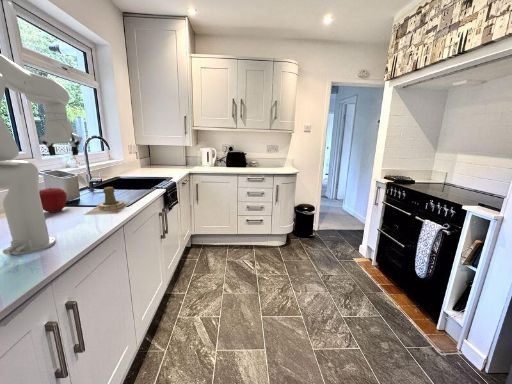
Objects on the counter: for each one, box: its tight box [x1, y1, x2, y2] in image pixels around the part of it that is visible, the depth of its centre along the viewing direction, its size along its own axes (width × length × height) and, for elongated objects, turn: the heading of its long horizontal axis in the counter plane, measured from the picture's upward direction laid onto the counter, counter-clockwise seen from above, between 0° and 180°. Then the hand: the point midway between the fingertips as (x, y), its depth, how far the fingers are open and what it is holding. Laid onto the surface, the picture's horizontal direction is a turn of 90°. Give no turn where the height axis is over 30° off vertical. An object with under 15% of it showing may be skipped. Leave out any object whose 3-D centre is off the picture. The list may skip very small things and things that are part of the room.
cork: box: [102, 186, 117, 205], centre depth 129 cm, size 6×6×11 cm
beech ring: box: [97, 199, 125, 210], centre depth 131 cm, size 12×12×2 cm
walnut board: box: [83, 201, 132, 216], centre depth 128 cm, size 20×16×1 cm
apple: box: [39, 187, 68, 214], centre depth 123 cm, size 12×12×13 cm
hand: (64, 155), depth 112 cm, fingers open, 9 cm apart
